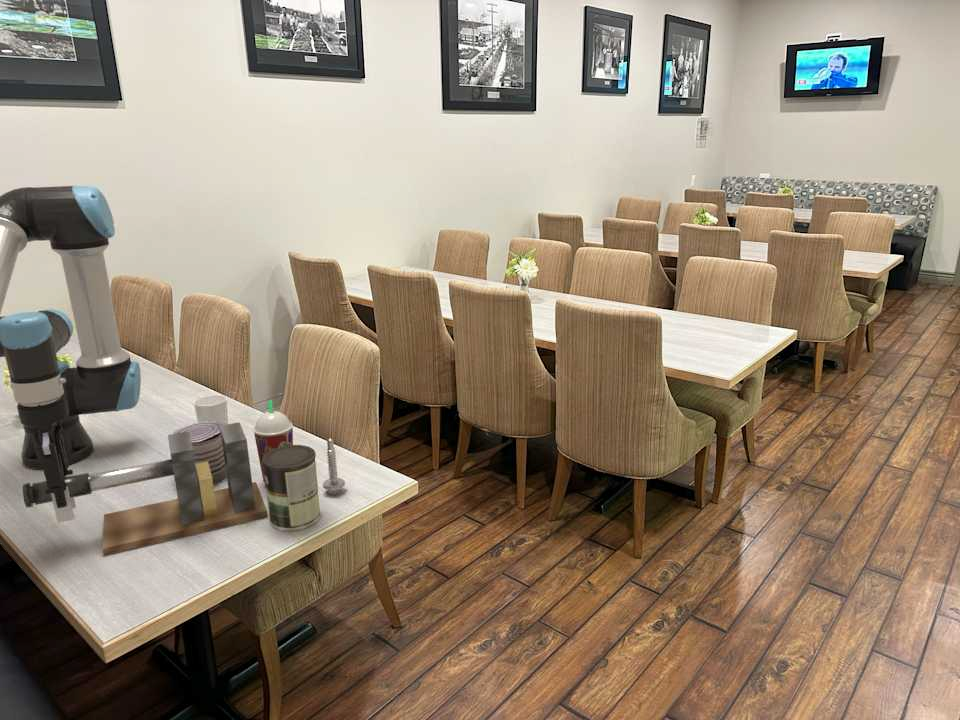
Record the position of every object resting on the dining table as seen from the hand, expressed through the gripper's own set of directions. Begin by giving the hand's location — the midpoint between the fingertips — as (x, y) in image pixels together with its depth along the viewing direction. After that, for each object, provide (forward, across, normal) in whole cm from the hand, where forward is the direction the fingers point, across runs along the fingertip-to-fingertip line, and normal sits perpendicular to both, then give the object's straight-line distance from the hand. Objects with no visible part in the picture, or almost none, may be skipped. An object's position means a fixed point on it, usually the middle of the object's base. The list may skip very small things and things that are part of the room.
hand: (66, 514), depth 130 cm
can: (+7, +18, -25) cm, 32 cm away
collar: (+1, 0, -25) cm, 25 cm away
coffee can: (+7, -10, -40) cm, 42 cm away
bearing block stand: (+7, 0, -20) cm, 21 cm away
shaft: (-3, 0, -8) cm, 9 cm away
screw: (+7, -3, -50) cm, 51 cm away
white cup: (+7, +42, -30) cm, 52 cm away
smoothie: (+7, +7, -40) cm, 41 cm away
